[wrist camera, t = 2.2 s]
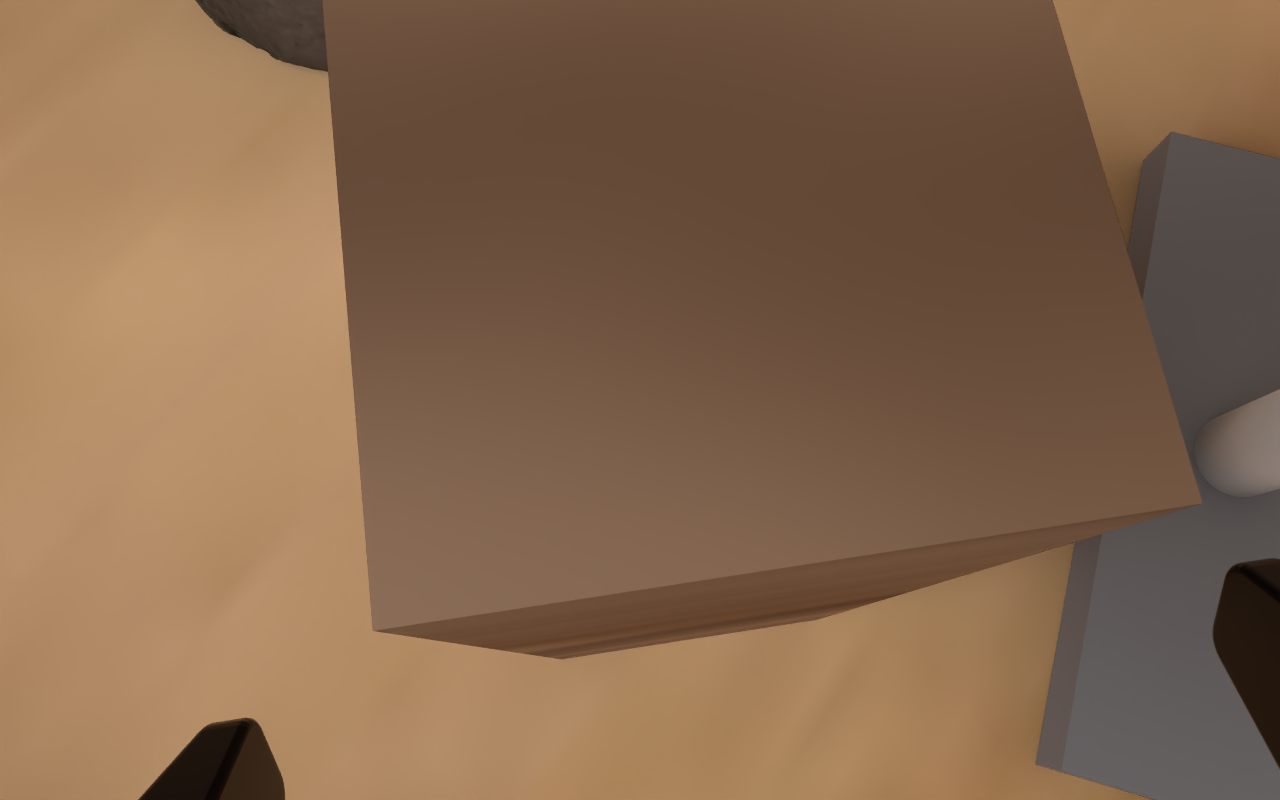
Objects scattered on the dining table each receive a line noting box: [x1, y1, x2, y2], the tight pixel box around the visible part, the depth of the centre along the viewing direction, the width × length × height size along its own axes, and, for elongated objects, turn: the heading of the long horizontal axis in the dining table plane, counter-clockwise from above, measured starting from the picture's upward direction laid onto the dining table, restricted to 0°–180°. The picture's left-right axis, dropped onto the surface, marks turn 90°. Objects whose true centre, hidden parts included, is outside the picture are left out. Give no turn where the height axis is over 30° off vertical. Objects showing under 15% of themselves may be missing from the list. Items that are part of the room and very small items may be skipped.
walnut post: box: [322, 0, 1203, 659], centre depth 13 cm, size 5×5×14 cm
